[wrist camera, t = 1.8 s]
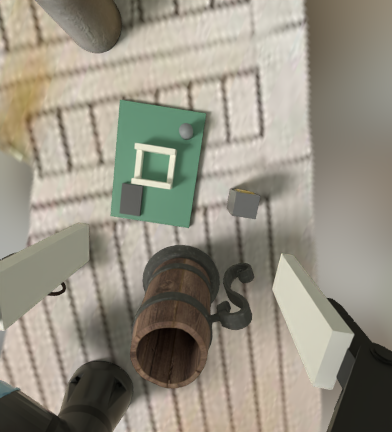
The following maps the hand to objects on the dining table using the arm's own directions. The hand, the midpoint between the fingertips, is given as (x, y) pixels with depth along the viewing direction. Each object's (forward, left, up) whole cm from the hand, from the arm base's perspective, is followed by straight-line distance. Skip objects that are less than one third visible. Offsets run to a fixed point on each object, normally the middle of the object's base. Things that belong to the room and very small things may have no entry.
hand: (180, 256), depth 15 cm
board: (+6, +8, -30) cm, 32 cm away
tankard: (-16, -3, -31) cm, 35 cm away
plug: (+2, -9, -30) cm, 32 cm away
